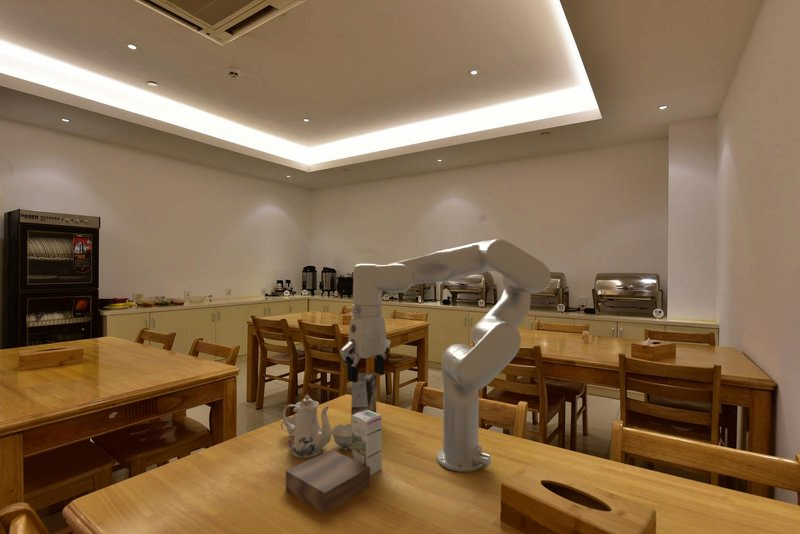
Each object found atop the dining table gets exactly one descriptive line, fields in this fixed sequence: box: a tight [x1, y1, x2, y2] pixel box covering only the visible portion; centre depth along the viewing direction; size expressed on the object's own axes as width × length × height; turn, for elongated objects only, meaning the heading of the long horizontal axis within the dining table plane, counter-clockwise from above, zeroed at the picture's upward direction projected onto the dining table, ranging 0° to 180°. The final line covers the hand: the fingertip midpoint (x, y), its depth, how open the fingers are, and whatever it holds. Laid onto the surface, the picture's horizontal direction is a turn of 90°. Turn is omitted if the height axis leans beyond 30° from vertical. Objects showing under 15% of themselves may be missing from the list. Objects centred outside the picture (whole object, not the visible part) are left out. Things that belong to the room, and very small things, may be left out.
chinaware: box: [280, 394, 352, 459], centre depth 117 cm, size 28×17×17 cm, turn 71°
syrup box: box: [351, 410, 383, 476], centre depth 103 cm, size 6×6×14 cm
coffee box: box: [350, 372, 378, 424], centre depth 132 cm, size 9×6×16 cm
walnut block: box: [285, 449, 371, 515], centre depth 95 cm, size 14×14×5 cm
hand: (366, 377), depth 103 cm, fingers open, 9 cm apart
